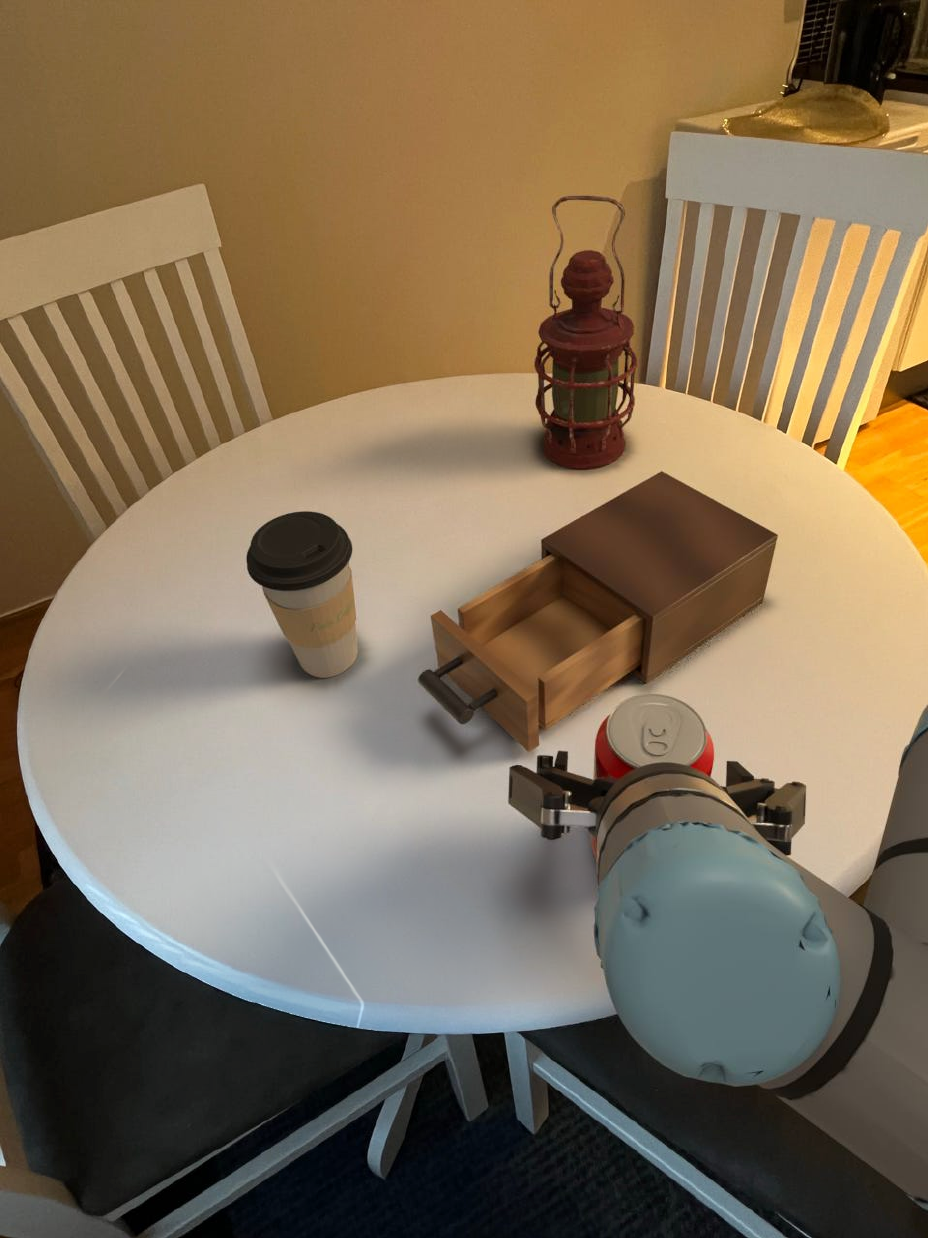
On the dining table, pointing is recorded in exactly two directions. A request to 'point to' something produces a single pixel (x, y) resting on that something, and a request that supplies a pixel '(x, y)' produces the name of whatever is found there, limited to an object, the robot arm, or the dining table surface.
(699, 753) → the soda can
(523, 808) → the robot arm
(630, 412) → the lantern
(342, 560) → the coffee cup
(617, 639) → the drawer
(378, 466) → the dining table surface
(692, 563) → the cabinet
